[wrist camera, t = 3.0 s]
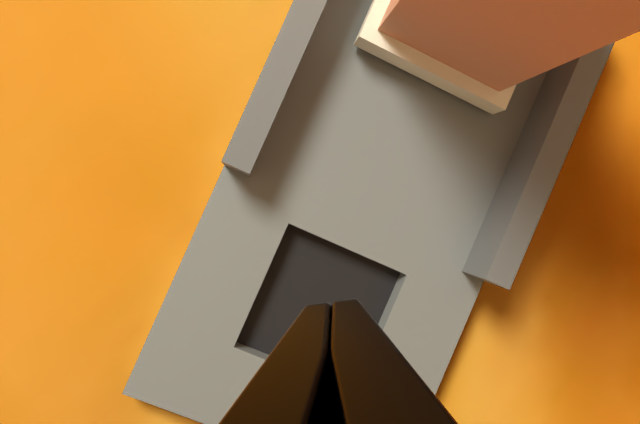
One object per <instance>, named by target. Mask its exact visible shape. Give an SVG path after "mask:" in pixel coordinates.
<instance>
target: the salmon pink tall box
mask: <svg viewBox="0 0 640 424" xmlns="http://www.w3.org/2000/svg"><path fill="white" fill-rule="evenodd" d="M639 31H640V0H373V1H372V4H371V6H370V8H369V10H368V13H367V15H366V17H365V20H364V22H363V24H362V26H361V29H360V31H359V33H358V35H357V38H356V40H355V42H354V44H353V45H354V46H356V47H358V48H360V49H362V50H364V51H366V52H368V53H370V54H372V55H374V56H376V57H378V58H380V59H382V60H384V61H386V62H388V63H390V64H392V65H394V66H396V67H398V68H400V69H402V70H404V71H406V72H408V73H410V74H412V75H414V76H416V77H418V78H420V79H422V80H424V81H426V82H428V83H430V84H432V85H434V86H436V87H438V88H440V89H442V90H444V91H446V92H448V93H450V94H452V95H454V96H456V97H458V98H460V99H462V100H464V101H466V102H468V103H470V104H472V105H474V106H476V107H478V108H480V109H482V110H484V111H486V112H488V113H490V114H492V115H493V114H495V113H498V112H501V111H504V110H506V108H507V105H508V103H509V101H510V98H511V96H512V94H513V91H514V89H515V87H516V84H518V83H520V82H523V81H525V80H527V79H530V78H532V77H534V76H537V75H539V74H541V73H544V72H546V71H548V70H551V69H553V68H555V67H558V66H560V65H562V64H565V63H567V62H569V61H572V60H574V59H576V58H578V57H581V56H583V55H585V54H588V53H590V52H592V51H595V50H597V49H599V48H602V47H604V46H606V45H609V44H611V43H613V42H616V41H618V40H620V39H623V38H625V37H627V36H630V35H632V34H634V33H636V32H639Z"/></svg>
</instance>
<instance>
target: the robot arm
mask: <svg viewBox="0 0 640 424" xmlns="http://www.w3.org/2000/svg"><path fill="white" fill-rule="evenodd" d="M219 424H458V423H457V422H456V421H455V419H454V418H453V417H452V416H451V414H450V413H449V412H448V411H447V409H446V408H445V407H444V406H443V404H442V403H441V402H440V401H439V399H438V398H437V397H436V396H435V394H434V393H433V392H432V391H431V389H430V388H429V387H428V386H427V384H426V383H425V382H424V381H423V379H422V378H421V377H420V376H419V375H418V373H417V372H416V371H415V370H414V368H413V367H412V366H411V365H410V363H409V362H408V361H407V360H406V358H405V357H404V356H403V355H402V353H401V352H400V351H399V350H398V348H397V347H396V346H395V345H394V343H393V342H392V341H391V340H390V338H389V337H388V336H387V335H386V333H385V332H384V331H383V330H382V328H381V327H380V326H379V325H378V324H377V322H376V321H375V320H374V319H373V317H372V316H371V315H370V314H369V312H368V311H367V310H366V309H365V307H364V306H363V305H362V304H361V302H360V301H359V300H358V299H347V300H340V301H335V302H334V303H333V304H332V305H331V304H330V303H328V302H326V303H319V304H312V305H307V306H306V307H304V309H303V310H302V311H301V313H300V314H299V315H298V317H297V318H296V319H295V321H294V322H293V323H292V325H291V326H290V328H289V329H288V330H287V332H286V333H285V334H284V336H283V337H282V338H281V340H280V341H279V342H278V344H277V345H276V347H275V348H274V349H273V351H272V352H271V353H270V355H269V356H268V357H267V359H266V360H265V361H264V363H263V364H262V365H261V367H260V368H259V370H258V371H257V372H256V374H255V375H254V376H253V378H252V379H251V380H250V382H249V383H248V384H247V386H246V387H245V389H244V390H243V391H242V393H241V394H240V395H239V397H238V398H237V399H236V401H235V402H234V403H233V405H232V406H231V408H230V409H229V410H228V412H227V413H226V414H225V416H224V417H223V418H222V420H221V421H220V422H219Z"/></svg>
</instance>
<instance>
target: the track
mask: <svg viewBox="0 0 640 424" xmlns="http://www.w3.org/2000/svg"><path fill="white" fill-rule="evenodd" d="M372 1H373V0H294V1H293V3H292V5H291V7H290V10H289V12H288V14H287V16H286V18H285V21H284V23H283V25H282V27H281V30H280V32H279V34H278V36H277V39H276V41H275V43H274V45H273V47H272V50H271V52H270V54H269V56H268V59H267V61H266V63H265V65H264V68H263V70H262V72H261V74H260V76H259V79H258V81H257V83H256V85H255V88H254V90H253V92H252V94H251V97H250V99H249V101H248V103H247V105H246V108H245V110H244V112H243V114H242V117H241V119H240V121H239V123H238V126H237V128H236V130H235V132H234V134H233V137H232V139H231V141H230V143H229V146H228V148H227V150H226V152H225V155H224V157H223V159H222V163H223V164H224V168H223V170H222V172H221V174H220V177H219V179H218V181H217V183H216V185H215V188H214V190H213V192H212V194H211V197H210V199H209V201H208V203H207V206H206V208H205V210H204V212H203V214H202V217H201V219H200V221H199V223H198V226H197V228H196V230H195V232H194V235H193V237H192V239H191V241H190V244H189V246H188V248H187V250H186V252H185V255H184V257H183V259H182V261H181V264H180V266H179V268H178V270H177V273H176V275H175V277H174V279H173V281H172V284H171V286H170V288H169V290H168V293H167V295H166V297H165V299H164V302H163V304H162V306H161V308H160V310H159V313H158V315H157V317H156V319H155V322H154V324H153V326H152V328H151V331H150V333H149V335H148V337H147V339H146V342H145V344H144V346H143V348H142V351H141V353H140V355H139V357H138V360H137V362H136V364H135V366H134V369H133V371H132V373H131V375H130V377H129V380H128V382H127V384H126V386H125V389H124V391H123V393H122V394H124V395H127V396H130V397H132V398H135V399H138V400H141V401H143V402H146V403H149V404H151V405H154V406H157V407H160V408H162V409H165V410H168V411H170V412H173V413H176V414H178V415H181V416H184V417H187V418H189V419H192V420H195V421H197V422H200V423H203V424H219V422H220V421H221V420H222V418H223V417H224V416H225V414H226V413H227V412H228V410H229V409H230V408H231V406H232V405H233V403H234V402H235V401H236V399H237V398H238V397H239V395H240V394H241V393H242V391H243V390H244V389H245V387H246V386H247V384H248V383H249V382H250V380H251V379H252V378H253V376H254V375H255V374H256V372H257V371H258V370H259V368H260V367H261V365H262V364H263V363H264V361H265V360H266V359H267V357H268V356H269V355H270V353H271V352H272V351H273V349H274V348H275V347H276V345H277V344H278V342H279V341H280V340H281V338H282V337H283V336H284V334H285V333H286V332H287V330H288V329H289V328H290V326H291V325H292V323H293V322H294V321H295V319H296V318H297V317H298V315H299V314H300V313H301V311H302V310H303V309H304V307H306V306H307V305H312V304H319V303H326V302H328V303H330V304H331V305H332V304H333V303H334V302H335V301H340V300H347V299H358V300H359V301H360V302H361V304H362V305H363V306H364V307H365V309H366V310H367V311H368V312H369V314H370V315H371V316H372V317H373V319H374V320H375V321H376V322H377V324H378V325H379V326H380V327H381V328H382V330H383V331H384V332H385V333H386V335H387V336H388V337H389V338H390V340H391V341H392V342H393V343H394V345H395V346H396V347H397V348H398V350H399V351H400V352H401V353H402V355H403V356H404V357H405V358H406V360H407V361H408V362H409V363H410V365H411V366H412V367H413V368H414V370H415V371H416V372H417V373H418V375H419V376H420V377H421V378H422V379H423V381H424V382H425V383H426V384H427V386H428V387H429V388H430V389H431V391H432V392H433V393H434V394H436V392H437V390H438V387H439V385H440V383H441V380H442V378H443V376H444V373H445V371H446V369H447V366H448V364H449V362H450V359H451V357H452V355H453V352H454V350H455V348H456V345H457V343H458V340H459V338H460V336H461V333H462V331H463V329H464V326H465V324H466V322H467V319H468V317H469V315H470V312H471V310H472V308H473V305H474V303H475V301H476V298H477V296H478V294H479V291H480V289H481V287H482V284H483V282H484V281H485V282H488V283H491V284H494V285H496V286H499V287H502V288H505V289H508V290H510V288H511V286H512V283H513V281H514V279H515V276H516V274H517V272H518V269H519V267H520V264H521V262H522V260H523V257H524V255H525V253H526V250H527V248H528V246H529V243H530V241H531V239H532V236H533V234H534V231H535V229H536V227H537V224H538V222H539V220H540V217H541V215H542V213H543V210H544V208H545V206H546V203H547V201H548V198H549V196H550V194H551V191H552V189H553V187H554V184H555V182H556V180H557V177H558V175H559V172H560V170H561V168H562V165H563V163H564V161H565V158H566V156H567V154H568V151H569V149H570V147H571V144H572V142H573V139H574V137H575V135H576V132H577V130H578V128H579V125H580V123H581V121H582V118H583V116H584V114H585V111H586V109H587V106H588V104H589V102H590V99H591V97H592V95H593V92H594V90H595V88H596V85H597V83H598V81H599V78H600V76H601V73H602V71H603V69H604V66H605V64H606V62H607V59H608V57H609V55H610V52H611V50H612V47H613V45H614V43H615V42H613V43H611V44H609V45H606V46H604V47H602V48H599V49H597V50H595V51H592V52H590V53H588V54H585V55H583V56H581V57H578V58H576V59H574V60H572V61H569V62H567V63H565V64H562V65H560V66H558V67H555V68H553V69H551V70H548V71H546V72H544V73H541V74H539V75H537V76H534V77H532V78H530V79H527V80H525V81H523V82H520V83H518V84H516V87H515V89H514V91H513V94H512V96H511V98H510V101H509V103H508V105H507V108H506V110H504V111H501V112H498V113H495V114H493V115H492V114H490V113H488V112H486V111H484V110H482V109H480V108H478V107H476V106H474V105H472V104H470V103H468V102H466V101H464V100H462V99H460V98H458V97H456V96H454V95H452V94H450V93H448V92H446V91H444V90H442V89H440V88H438V87H436V86H434V85H432V84H430V83H428V82H426V81H424V80H422V79H420V78H418V77H416V76H414V75H412V74H410V73H408V72H406V71H404V70H402V69H400V68H398V67H396V66H394V65H392V64H390V63H388V62H386V61H384V60H382V59H380V58H378V57H376V56H374V55H372V54H370V53H368V52H366V51H364V50H362V49H360V48H358V47H356V46H354V45H353V44H354V42H355V40H356V38H357V35H358V33H359V31H360V29H361V26H362V24H363V22H364V20H365V17H366V15H367V13H368V10H369V8H370V6H371V4H372Z"/></svg>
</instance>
